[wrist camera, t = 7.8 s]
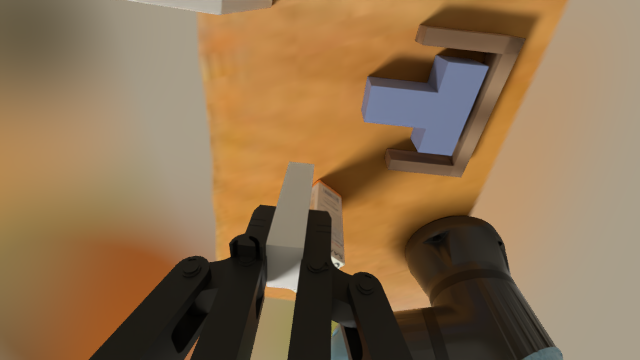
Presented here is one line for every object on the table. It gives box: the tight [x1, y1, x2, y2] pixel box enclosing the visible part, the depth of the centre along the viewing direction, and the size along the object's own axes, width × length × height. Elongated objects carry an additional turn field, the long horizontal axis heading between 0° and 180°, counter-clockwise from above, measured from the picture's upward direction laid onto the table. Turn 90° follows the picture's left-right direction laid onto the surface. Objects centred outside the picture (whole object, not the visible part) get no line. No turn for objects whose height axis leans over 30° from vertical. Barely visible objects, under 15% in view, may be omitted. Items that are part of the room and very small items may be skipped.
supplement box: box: [291, 180, 345, 293], centre depth 37 cm, size 8×5×13 cm, turn 139°
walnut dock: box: [385, 25, 525, 177], centre depth 31 cm, size 16×10×3 cm, turn 175°
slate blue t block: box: [361, 55, 489, 156], centre depth 31 cm, size 11×10×4 cm
